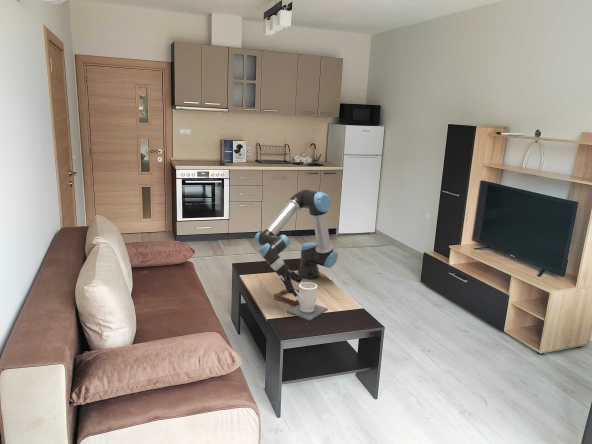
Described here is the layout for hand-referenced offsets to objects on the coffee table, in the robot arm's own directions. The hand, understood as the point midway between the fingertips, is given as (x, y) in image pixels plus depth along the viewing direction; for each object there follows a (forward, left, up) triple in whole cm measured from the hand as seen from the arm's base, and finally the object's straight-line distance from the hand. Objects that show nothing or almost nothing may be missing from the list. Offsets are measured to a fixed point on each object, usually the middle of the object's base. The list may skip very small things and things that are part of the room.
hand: (304, 295), depth 259 cm
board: (-1, +2, -10) cm, 10 cm away
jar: (-1, +2, -9) cm, 9 cm away
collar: (-9, -15, -10) cm, 20 cm away
